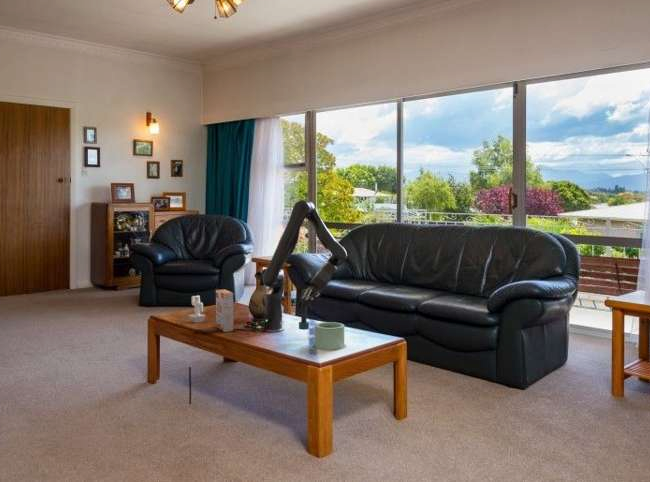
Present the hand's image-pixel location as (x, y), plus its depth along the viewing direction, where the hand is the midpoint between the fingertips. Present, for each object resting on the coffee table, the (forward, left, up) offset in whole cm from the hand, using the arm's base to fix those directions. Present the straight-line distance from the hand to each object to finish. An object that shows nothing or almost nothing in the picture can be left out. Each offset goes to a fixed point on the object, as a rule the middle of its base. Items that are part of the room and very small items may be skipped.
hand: (300, 306), depth 276 cm
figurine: (-63, +47, -18) cm, 81 cm away
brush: (+2, +1, -11) cm, 11 cm away
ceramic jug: (-26, +56, -18) cm, 65 cm away
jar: (+15, -7, -18) cm, 24 cm away
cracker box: (-43, +27, -18) cm, 54 cm away
